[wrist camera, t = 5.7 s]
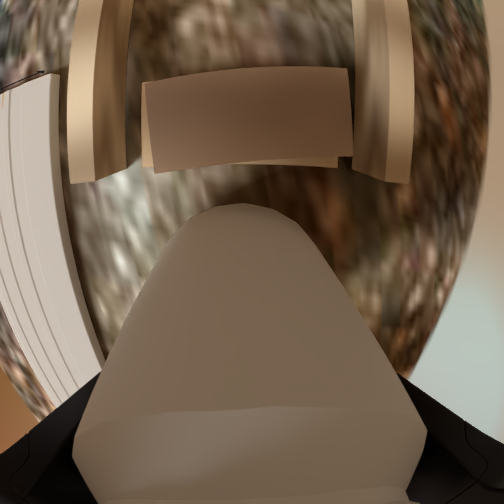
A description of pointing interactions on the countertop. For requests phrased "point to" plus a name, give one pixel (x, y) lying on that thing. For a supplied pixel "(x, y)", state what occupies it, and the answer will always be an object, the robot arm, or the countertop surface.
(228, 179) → the countertop surface
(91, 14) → the rack
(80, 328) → the baseboard
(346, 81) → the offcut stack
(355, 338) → the can
